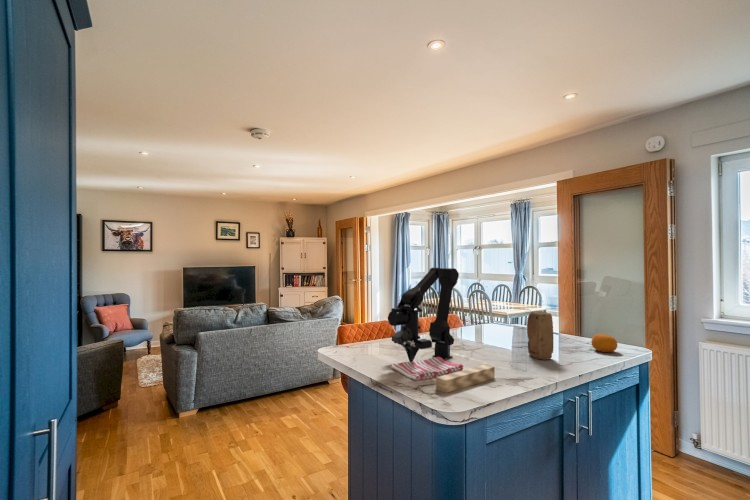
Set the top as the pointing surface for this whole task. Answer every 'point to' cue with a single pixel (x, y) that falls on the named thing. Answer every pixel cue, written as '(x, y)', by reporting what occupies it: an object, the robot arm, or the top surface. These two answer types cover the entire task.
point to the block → (540, 335)
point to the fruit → (604, 343)
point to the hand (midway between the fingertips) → (411, 361)
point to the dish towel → (427, 368)
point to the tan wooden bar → (464, 378)
